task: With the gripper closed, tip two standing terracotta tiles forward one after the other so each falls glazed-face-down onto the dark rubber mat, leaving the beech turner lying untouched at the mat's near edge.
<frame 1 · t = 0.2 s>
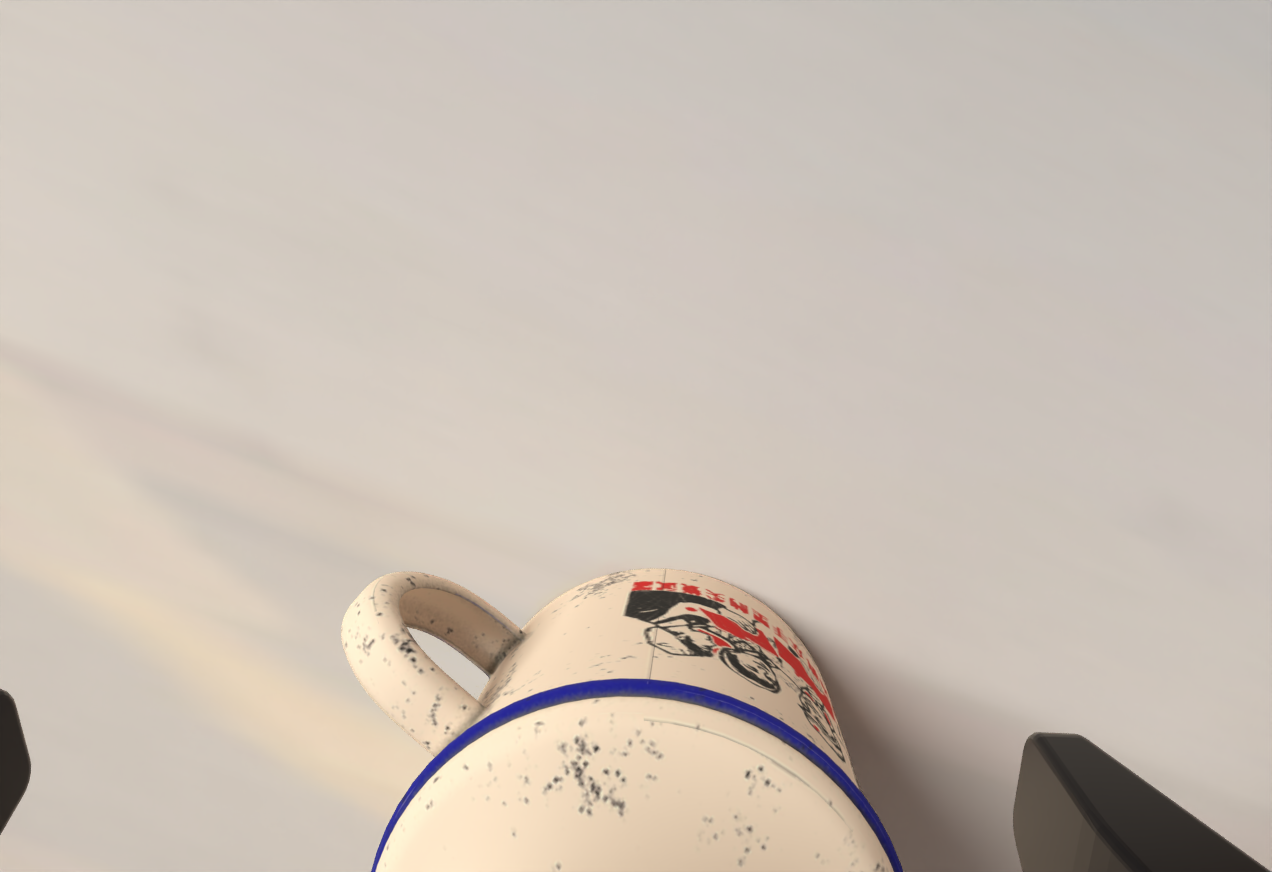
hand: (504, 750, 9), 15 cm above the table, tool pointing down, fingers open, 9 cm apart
teacup with lid: (615, 691, 25), on the table
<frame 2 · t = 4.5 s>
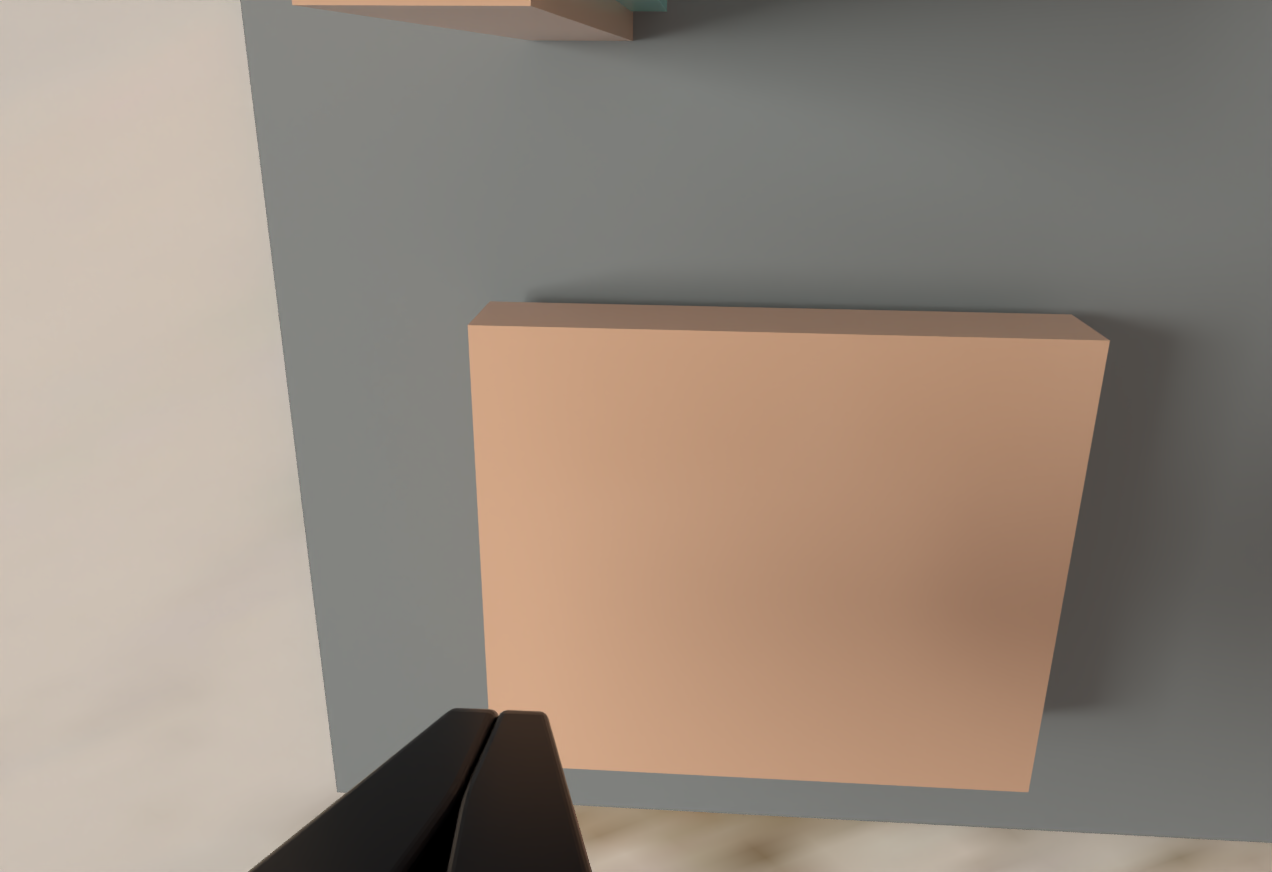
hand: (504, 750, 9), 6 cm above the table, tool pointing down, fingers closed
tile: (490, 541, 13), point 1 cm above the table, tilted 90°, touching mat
mat: (1114, 220, 12), on the table
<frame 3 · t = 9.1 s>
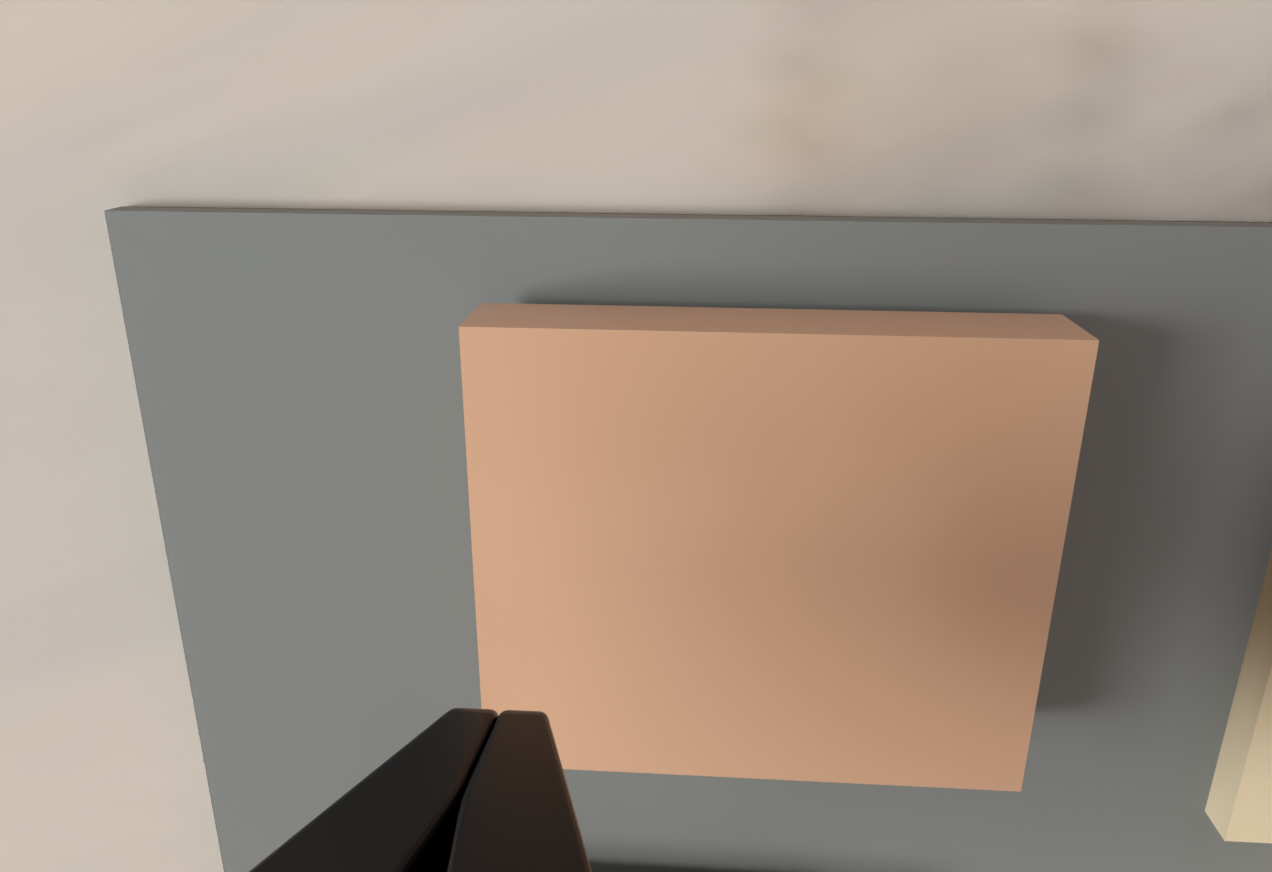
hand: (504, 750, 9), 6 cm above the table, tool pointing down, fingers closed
mat: (874, 803, 15), on the table
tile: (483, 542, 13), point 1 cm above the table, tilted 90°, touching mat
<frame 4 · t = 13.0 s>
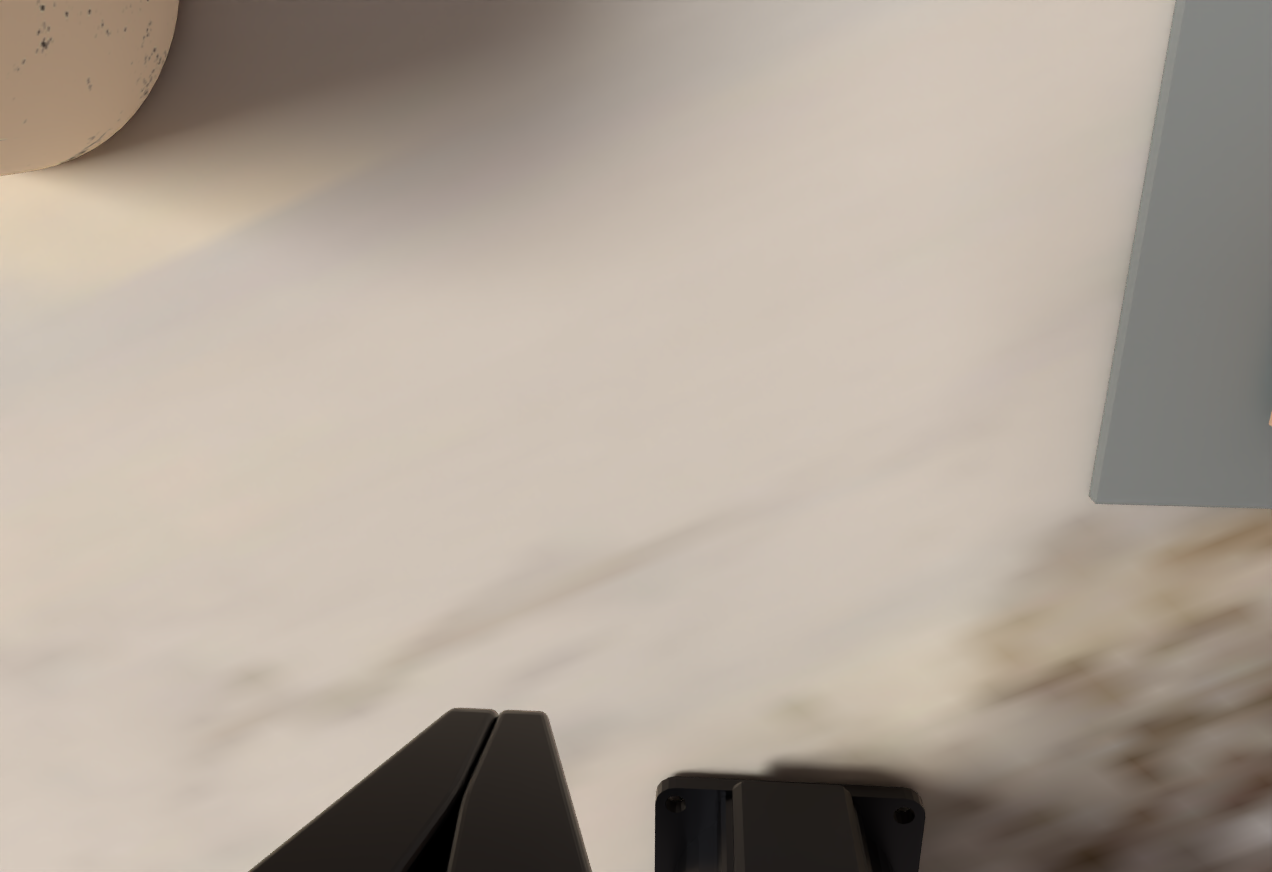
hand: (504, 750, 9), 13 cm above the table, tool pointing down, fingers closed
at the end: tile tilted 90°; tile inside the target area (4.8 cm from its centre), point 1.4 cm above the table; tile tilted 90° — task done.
